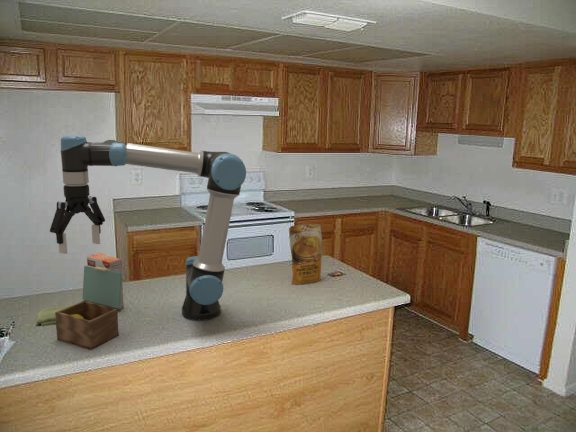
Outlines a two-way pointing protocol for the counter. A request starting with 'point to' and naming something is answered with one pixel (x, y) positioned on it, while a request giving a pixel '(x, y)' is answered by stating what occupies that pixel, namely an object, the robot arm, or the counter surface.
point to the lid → (102, 286)
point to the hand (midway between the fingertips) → (80, 248)
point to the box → (87, 324)
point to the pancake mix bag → (306, 252)
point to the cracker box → (108, 263)
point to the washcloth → (49, 315)
